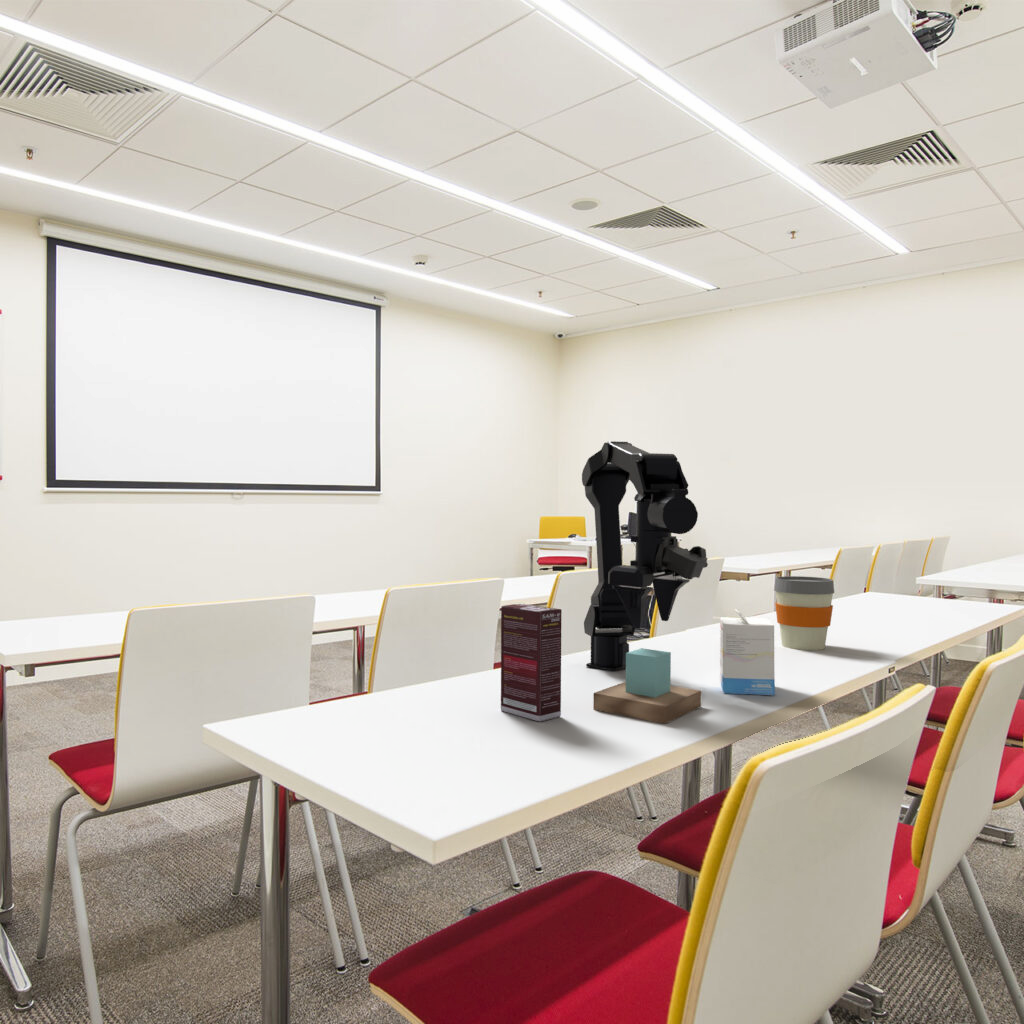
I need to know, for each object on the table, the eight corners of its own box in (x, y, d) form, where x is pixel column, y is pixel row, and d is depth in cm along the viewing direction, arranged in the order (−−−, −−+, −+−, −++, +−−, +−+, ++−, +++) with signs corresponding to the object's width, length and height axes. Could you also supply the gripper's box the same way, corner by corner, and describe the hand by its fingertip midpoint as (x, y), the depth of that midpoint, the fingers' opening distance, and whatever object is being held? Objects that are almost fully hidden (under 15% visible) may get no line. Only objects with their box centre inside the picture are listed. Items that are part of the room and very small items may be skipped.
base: (593, 709, 117) (593, 693, 117) (632, 694, 126) (632, 679, 126) (665, 723, 109) (665, 706, 109) (700, 706, 119) (701, 690, 119)
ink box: (775, 696, 126) (776, 614, 125) (722, 693, 127) (723, 612, 127) (768, 684, 134) (769, 607, 134) (718, 681, 136) (719, 606, 136)
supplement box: (562, 716, 112) (563, 608, 112) (539, 723, 109) (540, 611, 109) (521, 705, 119) (522, 602, 119) (498, 710, 115) (499, 605, 115)
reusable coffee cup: (843, 651, 164) (844, 582, 164) (784, 651, 165) (785, 581, 164) (820, 641, 177) (821, 576, 177) (765, 640, 177) (766, 575, 177)
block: (625, 692, 117) (626, 652, 117) (641, 686, 121) (641, 648, 121) (655, 697, 114) (655, 657, 114) (670, 691, 118) (670, 652, 118)
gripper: (671, 535, 114) (669, 640, 114) (724, 530, 128) (721, 623, 129) (607, 531, 121) (605, 630, 121) (663, 526, 135) (661, 615, 136)
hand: (651, 624), depth 127 cm, fingers open, 9 cm apart
